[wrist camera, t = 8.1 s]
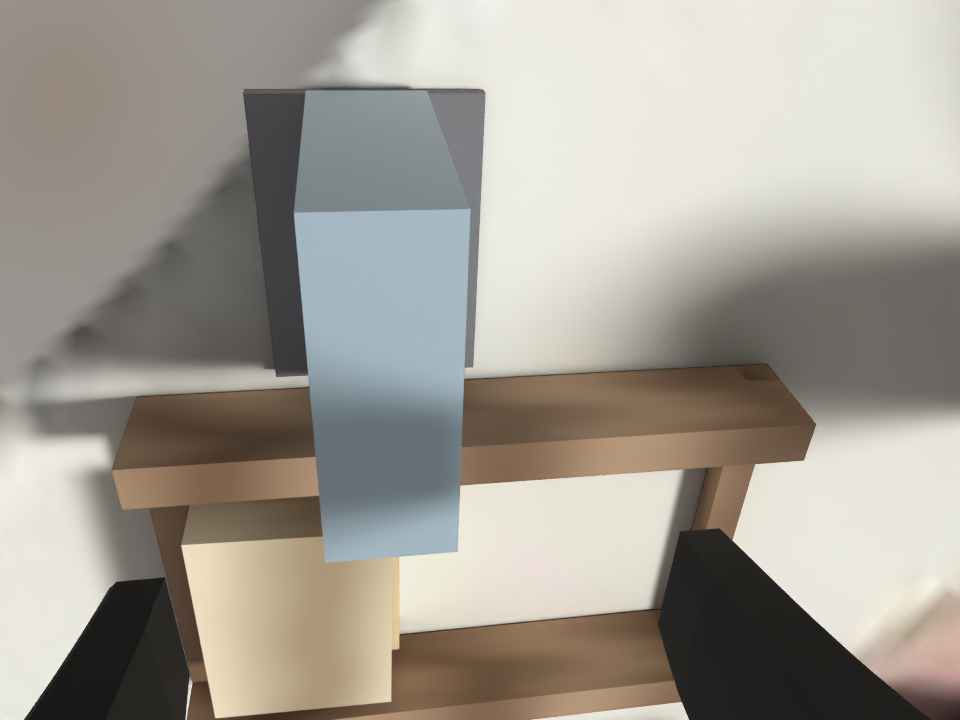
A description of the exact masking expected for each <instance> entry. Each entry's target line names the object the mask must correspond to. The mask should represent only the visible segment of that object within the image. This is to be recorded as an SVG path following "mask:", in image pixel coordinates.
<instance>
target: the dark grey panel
mask: <svg viewBox="0 0 960 720" xmlns="http://www.w3.org/2000/svg"><path fill="white" fill-rule="evenodd" d="M306 90H326V91H427V92H428V95H429V97H430V100H431V103H432V106H433V108H434V111H435V114H436V116H437V119H438V122H439V125H440V127H441V130H442V133H443V136H444V138H445V141H446V144H447V146H448V149H449V152H450V155H451V157H452V160H453V163H454V165H455V168H456V171H457V174H458V176H459V179H460V182H461V185H462V187H463V190H464V193H465V195H466V198H467V201H468V204H469V206H470V236H469V262H468V288H467V315H466V341H465V367H473V357H474V335H475V313H476V291H477V269H478V246H479V224H480V202H481V180H482V158H483V136H484V113H485V92H484V90H388V89H244V92H243V95H244V104H245V112H246V121H247V130H248V138H249V147H250V155H251V164H252V173H253V181H254V190H255V199H256V207H257V216H258V224H259V233H260V242H261V250H262V259H263V267H264V276H265V285H266V293H267V302H268V311H269V319H270V328H271V336H272V345H273V354H274V362H275V371H276V377H286V376H306V375H308V366H307V355H306V343H305V332H304V321H303V310H302V299H301V288H300V276H299V265H298V254H297V243H296V232H295V221H294V205H295V195H296V185H297V175H298V165H299V155H300V144H301V134H302V124H303V114H304V104H305V94H306ZM465 367H464V368H465Z"/></svg>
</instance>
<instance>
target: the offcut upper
mask: <svg viewBox="0 0 960 720" xmlns="http://www.w3.org/2000/svg"><path fill="white" fill-rule="evenodd" d="M181 547H182V552H183V557H184V562H185V567H186V572H187V577H188V582H189V587H190V592H191V597H192V602H193V607H194V612H195V617H196V622H197V628H198V633H199V638H200V643H201V648H202V653H203V658H204V663H205V668H206V673H207V678H208V683H209V688H210V693H211V698H212V703H213V709H214V714H215V718H225V717H235V716H246V715H256V714H267V713H277V712H288V711H298V710H309V709H320V708H330V707H341V706H351V705H362V704H372V703H383V702H391V667H392V557H389V558H377V559H365V560H354V561H342V562H330V563H325V555H324V544H323V533H322V522H321V511H320V500H319V496H307V497H293V498H279V499H265V500H252V501H238V502H224V503H210V504H196V505H190V506H189V511H188V516H187V520H186V525H185V530H184V535H183V539H182V544H181Z"/></svg>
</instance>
